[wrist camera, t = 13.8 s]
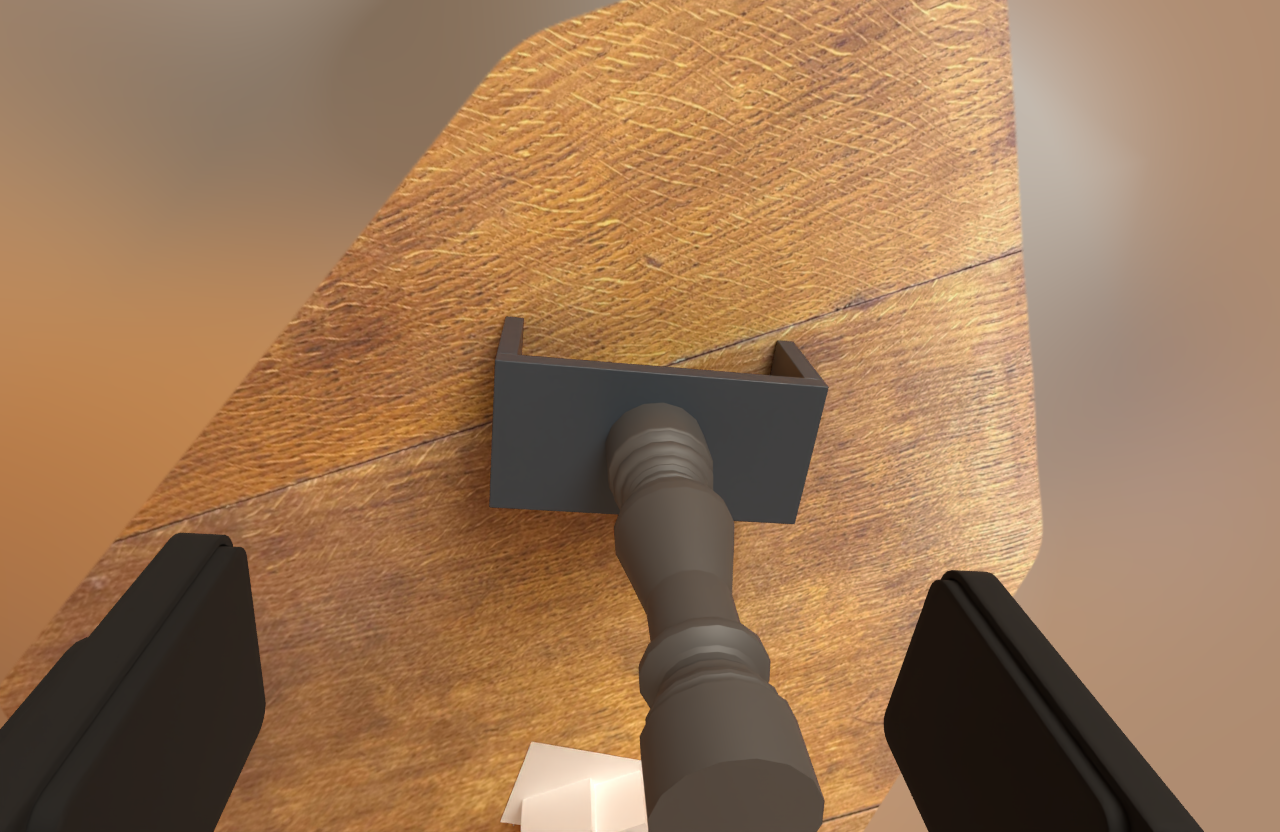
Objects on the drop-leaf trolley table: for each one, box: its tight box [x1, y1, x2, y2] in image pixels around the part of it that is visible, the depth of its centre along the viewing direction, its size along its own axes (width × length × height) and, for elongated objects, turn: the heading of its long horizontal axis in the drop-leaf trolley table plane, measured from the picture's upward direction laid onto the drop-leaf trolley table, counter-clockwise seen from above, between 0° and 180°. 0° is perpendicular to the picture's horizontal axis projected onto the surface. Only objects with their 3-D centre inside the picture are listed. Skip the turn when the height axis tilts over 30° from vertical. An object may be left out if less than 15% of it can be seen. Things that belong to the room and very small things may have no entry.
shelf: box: [489, 317, 829, 524], centre depth 49 cm, size 20×10×8 cm, turn 83°
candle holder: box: [605, 403, 824, 832], centre depth 35 cm, size 6×6×25 cm
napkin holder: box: [500, 742, 648, 832], centre depth 68 cm, size 15×11×6 cm
